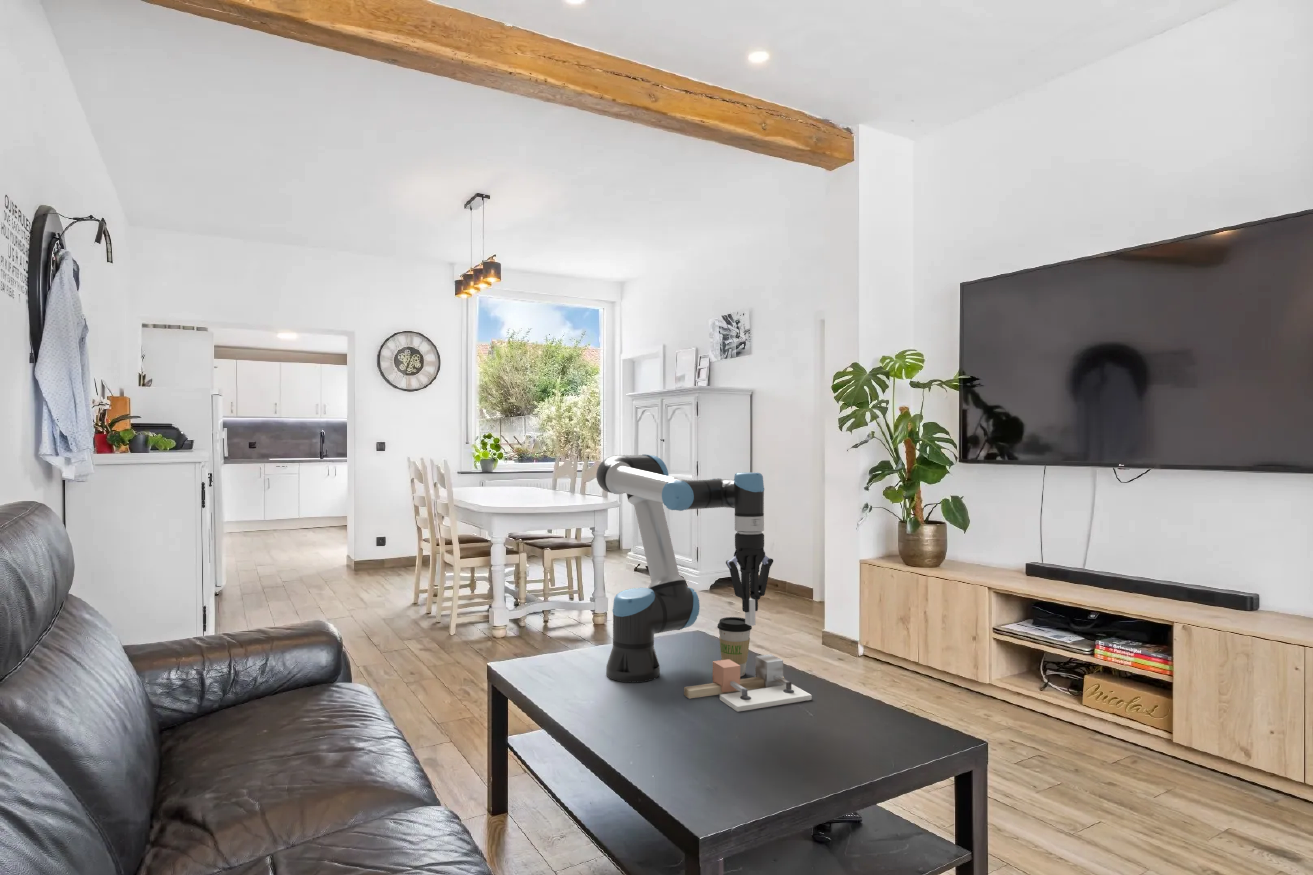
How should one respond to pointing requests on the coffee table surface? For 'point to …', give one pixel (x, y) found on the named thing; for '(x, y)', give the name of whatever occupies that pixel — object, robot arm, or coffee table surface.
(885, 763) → the coffee table surface
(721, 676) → the sliding leg
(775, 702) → the hole plate
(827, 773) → the coffee table surface
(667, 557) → the robot arm
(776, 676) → the rail
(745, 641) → the coffee cup
